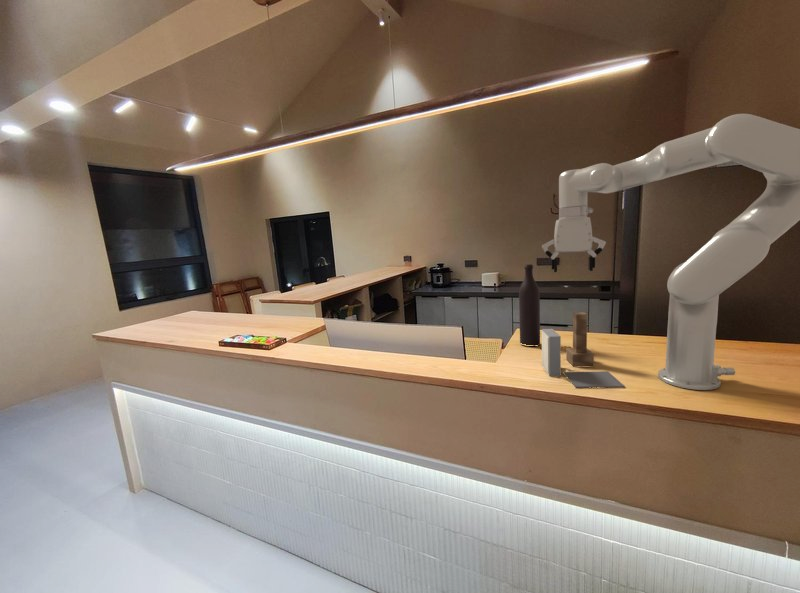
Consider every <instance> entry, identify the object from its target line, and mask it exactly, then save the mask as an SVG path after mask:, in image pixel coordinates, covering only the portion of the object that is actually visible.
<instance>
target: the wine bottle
mask: <svg viewBox="0 0 800 593" xmlns="http://www.w3.org/2000/svg"><path fill="white" fill-rule="evenodd" d="M533 269H534V265H533V264H531V263H527V264H525V265H524V270H525V272H524V273H525V274H524V278H523V281H522V283H521V284H520V286H519V291H518V293H519V294H518V300H519V301H518V305H519V306H518V308H519V309H518V310H519V343H522V344H526V345H538V344H541V305H540V304H541V303H540V301H541V299H540V296H541V295H540V289H539V286H538V283H537V282H536V280H535V277H534V274H533ZM538 346H539V345H538Z"/></svg>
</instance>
